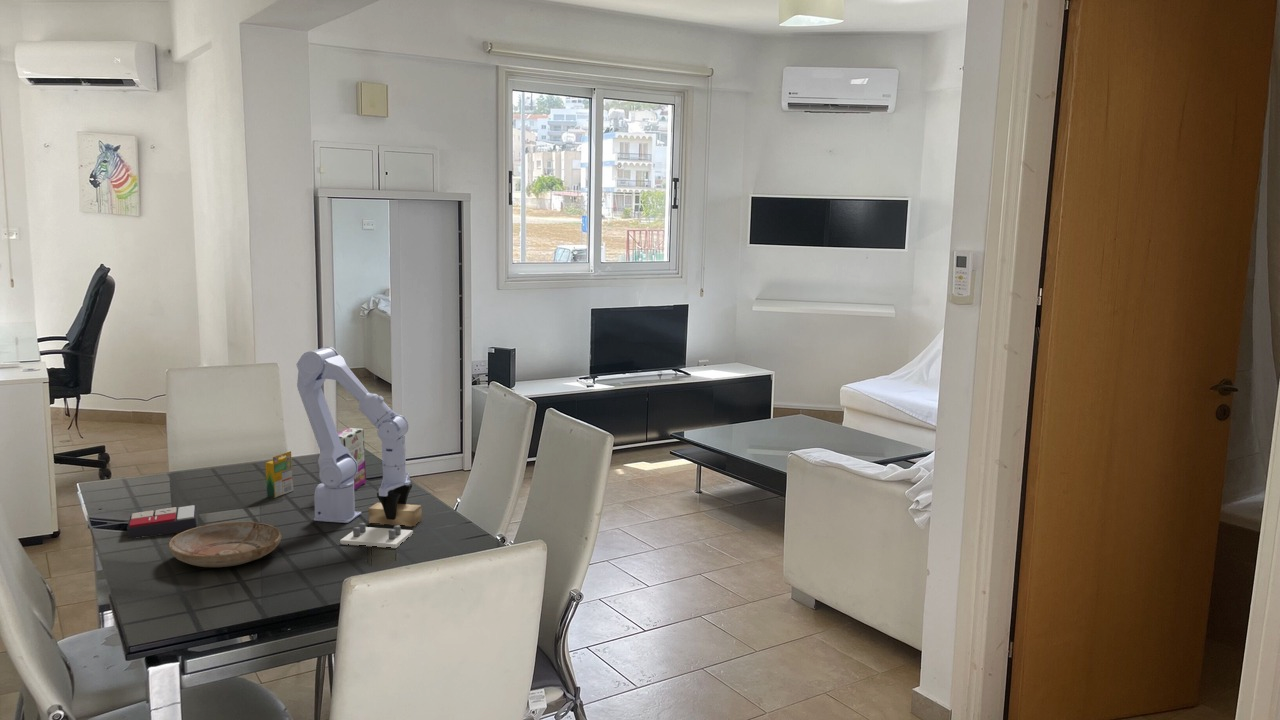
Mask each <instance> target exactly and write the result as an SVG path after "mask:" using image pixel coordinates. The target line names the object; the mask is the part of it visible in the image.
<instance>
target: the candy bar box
mask: <svg viewBox="0 0 1280 720" xmlns="http://www.w3.org/2000/svg"><path fill="white" fill-rule="evenodd" d="M364 431H365V429H364V428H358V427H348V428H346V429H344V430H342V431H340V432H338V435H339V438H340V441H341V444H342V445H343V446H345V447H346V448H348V449H349V451H350V454H351V455H352V457H353V458H354V459H355V460H356V461H357V464H358V471H357V473H356V475H355V476H354V491H355V490H357V489H358V488H360V487H362V486H363V485H365V484H366V483H367V476H366V475H367V473H366V456H365V455H366V454H365V451H366V450H365V437H364V435H365V434H364Z"/></svg>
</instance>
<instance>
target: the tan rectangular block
mask: <svg viewBox="0 0 1280 720" xmlns="http://www.w3.org/2000/svg"><path fill="white" fill-rule="evenodd" d="M422 509H423V508H422V505H421V504H407V503H406V504H397V511H396V518H395V519H394V520H390V519H386V516H385V512H384V509H383V506H382V504H381V502H380V501H379V502H376V503H374V504H373V505H371V506H370V507H368V523H369V524H370V523H380V524H379V525H384V524H393V525H392V526H396V525H405V526H404V527H412V526H414V527H416V526H417V525H418V524H419V523H420V522H422V521H421V520H423V518H422V517H423V516H422V515H423V514H422V513H423V512H422V511H423V510H422ZM418 522H419V523H418ZM417 523H418V524H417ZM416 524H417V525H416Z"/></svg>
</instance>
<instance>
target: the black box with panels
mask: <svg viewBox="0 0 1280 720" xmlns="http://www.w3.org/2000/svg"><path fill="white" fill-rule="evenodd" d="M196 527H199V514H198V506H197V505H193V504H191V505H185V506H178V507H176V506H175V507H174V506H173V507H166V508H160V509H155V511H154V510H153V509H151V510H146V511H140V512H132V513H131V515H130V516H129V520H128V523H127V526H126V531H127V538H128V539H129V538H131V539H137V538H136V537H140V538H143V537H142V536H149V537H152V536H151V535H157V536H160V535H159V534H165V535H171V534H175V533H176V534H179V533H181V532H184V531H186V530H189V529H193V528H196ZM170 533H171V534H170Z"/></svg>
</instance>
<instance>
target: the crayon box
mask: <svg viewBox="0 0 1280 720" xmlns="http://www.w3.org/2000/svg"><path fill="white" fill-rule="evenodd" d="M292 466H293V465H292V450H291V451H288V452H284V453H280V454H278V455H276V456H275V455H274V456H272V460H269V461H266V462H265V480H266V481H265V482H266V496H267V497H268V498H274V499H276V498H278V497H281V496H284V495H286V494H289V493H291V492H294V481H293V467H292Z"/></svg>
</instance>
